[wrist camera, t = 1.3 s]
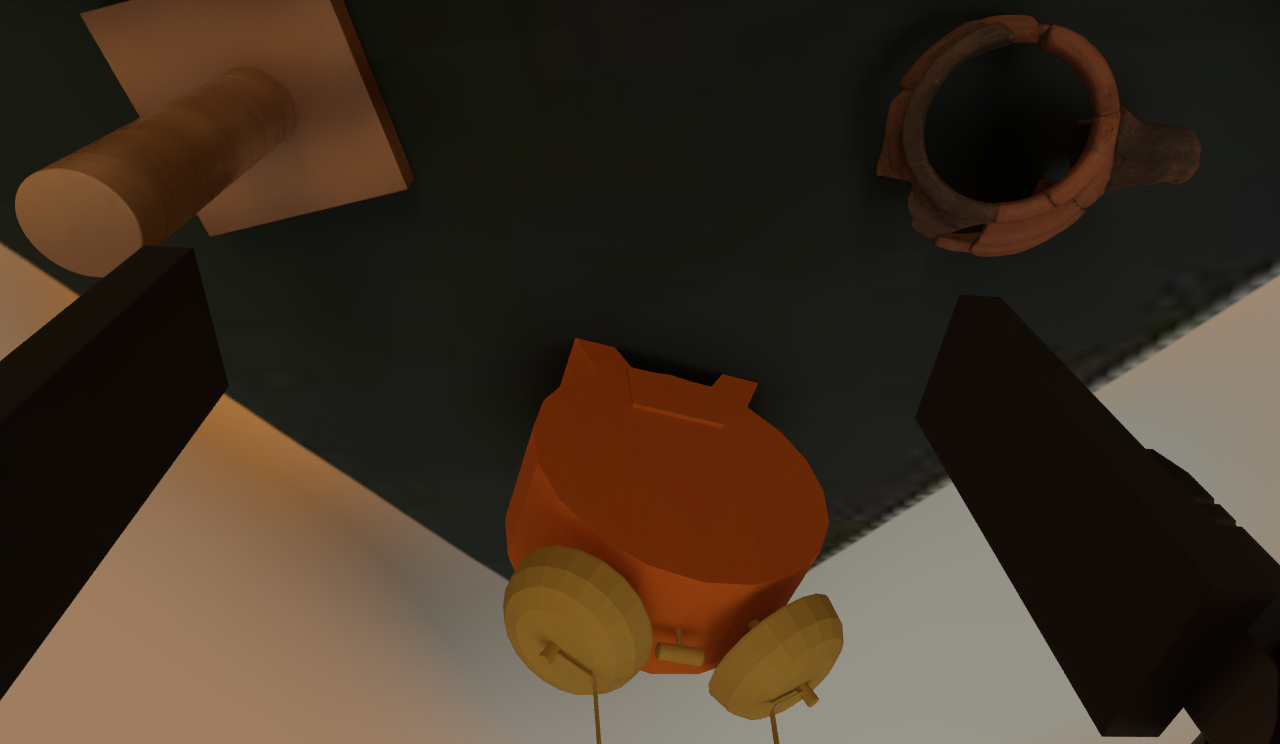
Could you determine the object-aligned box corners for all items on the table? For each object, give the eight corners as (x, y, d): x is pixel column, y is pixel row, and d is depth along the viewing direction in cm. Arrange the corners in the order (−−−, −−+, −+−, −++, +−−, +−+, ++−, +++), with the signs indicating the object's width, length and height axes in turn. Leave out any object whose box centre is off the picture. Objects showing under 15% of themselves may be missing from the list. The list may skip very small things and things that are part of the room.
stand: (101, 8, 29) (-222, 91, 17) (322, -52, 28) (137, -6, 17) (224, 223, 33) (35, 398, 22) (415, 178, 33) (321, 333, 21)
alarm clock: (517, 421, 40) (462, 804, 24) (545, 326, 37) (504, 690, 20) (743, 471, 43) (837, 844, 26) (787, 386, 40) (925, 750, 23)
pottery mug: (867, 261, 37) (878, 257, 29) (871, 59, 35) (884, -3, 27) (1145, 254, 34) (1244, 248, 26) (1160, 35, 32) (1267, -43, 25)
